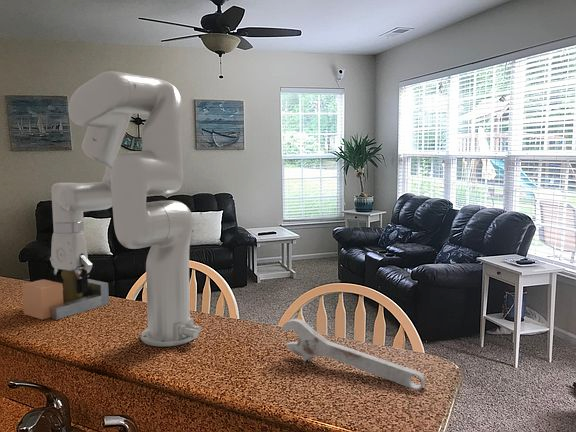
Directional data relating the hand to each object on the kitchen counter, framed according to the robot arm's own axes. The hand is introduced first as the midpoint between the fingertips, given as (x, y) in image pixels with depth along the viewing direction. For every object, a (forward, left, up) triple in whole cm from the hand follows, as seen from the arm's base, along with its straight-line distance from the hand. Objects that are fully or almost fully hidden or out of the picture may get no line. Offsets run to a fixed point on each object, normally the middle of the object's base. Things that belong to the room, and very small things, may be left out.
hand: (71, 289), depth 132 cm
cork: (0, 0, -5) cm, 5 cm away
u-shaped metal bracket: (0, +2, -5) cm, 5 cm away
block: (0, +8, -5) cm, 10 cm away
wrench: (-82, -2, -5) cm, 82 cm away
